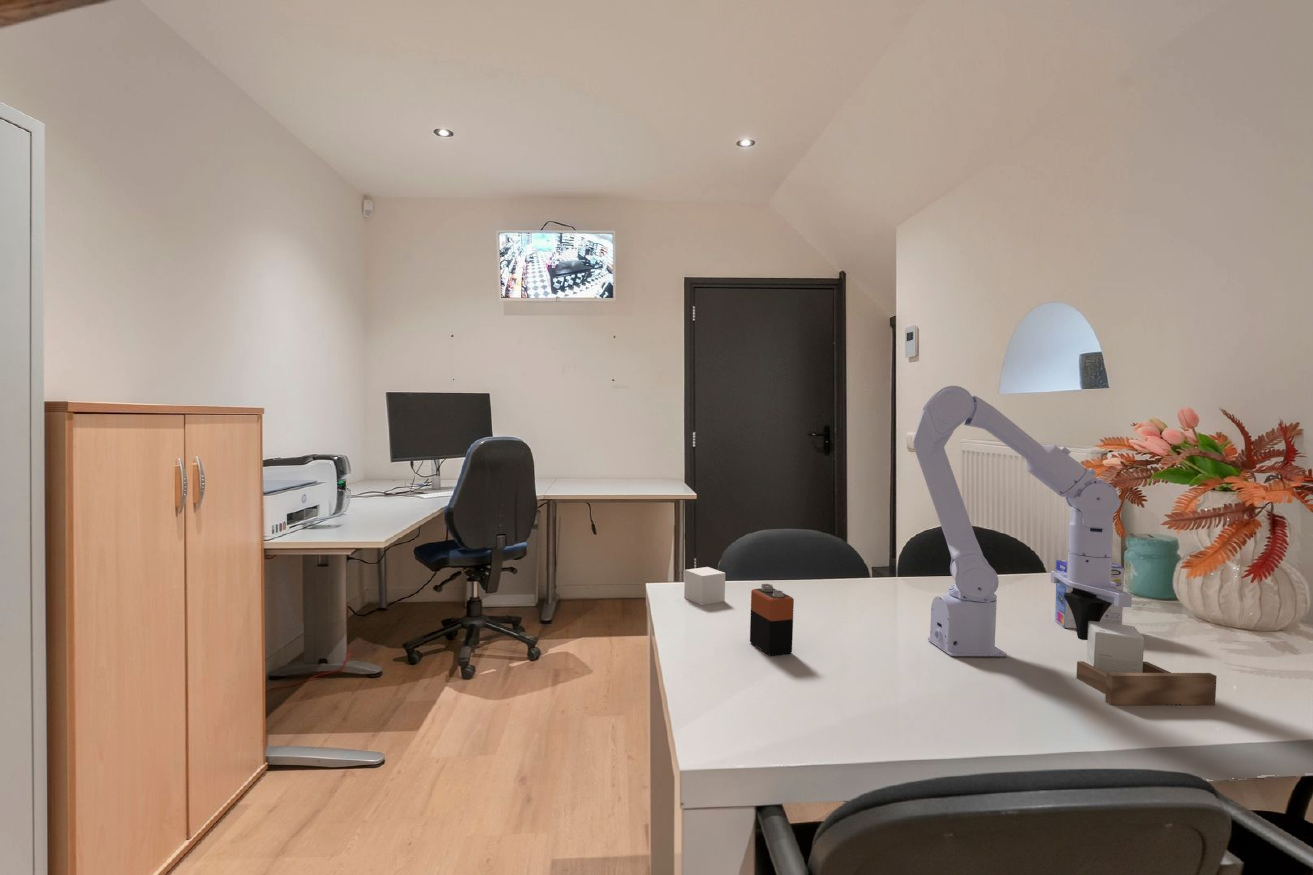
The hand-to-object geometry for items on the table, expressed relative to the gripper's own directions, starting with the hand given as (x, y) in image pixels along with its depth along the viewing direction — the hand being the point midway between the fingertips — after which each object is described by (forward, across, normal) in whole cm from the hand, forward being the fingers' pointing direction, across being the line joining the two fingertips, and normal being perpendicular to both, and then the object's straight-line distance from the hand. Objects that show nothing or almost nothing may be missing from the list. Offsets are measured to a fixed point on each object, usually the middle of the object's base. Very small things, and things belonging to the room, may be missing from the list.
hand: (1086, 639), depth 100 cm
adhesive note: (+4, +35, +56) cm, 66 cm away
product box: (+4, -5, 0) cm, 6 cm away
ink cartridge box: (+4, +18, -15) cm, 24 cm away
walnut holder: (+4, -9, 0) cm, 10 cm away
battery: (+4, +7, +49) cm, 50 cm away
